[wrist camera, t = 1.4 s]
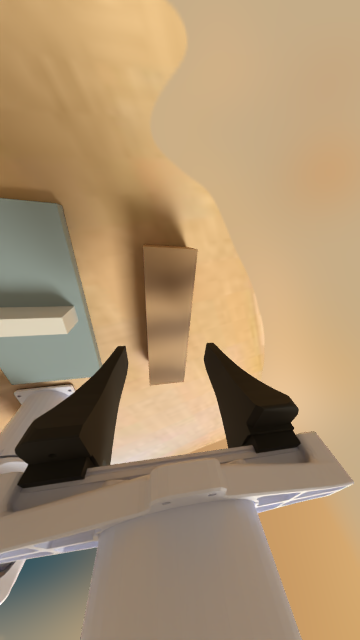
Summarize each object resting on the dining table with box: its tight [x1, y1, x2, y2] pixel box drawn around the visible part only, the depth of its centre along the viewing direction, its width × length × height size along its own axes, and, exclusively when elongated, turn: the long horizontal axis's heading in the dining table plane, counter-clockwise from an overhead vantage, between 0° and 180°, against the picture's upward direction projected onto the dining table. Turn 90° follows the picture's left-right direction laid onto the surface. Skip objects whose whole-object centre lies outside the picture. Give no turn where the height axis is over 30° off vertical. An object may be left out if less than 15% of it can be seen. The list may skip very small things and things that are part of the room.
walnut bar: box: [143, 244, 198, 385], centre depth 20 cm, size 18×5×5 cm, turn 176°
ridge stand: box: [0, 198, 102, 385], centre depth 17 cm, size 22×12×4 cm, turn 177°
